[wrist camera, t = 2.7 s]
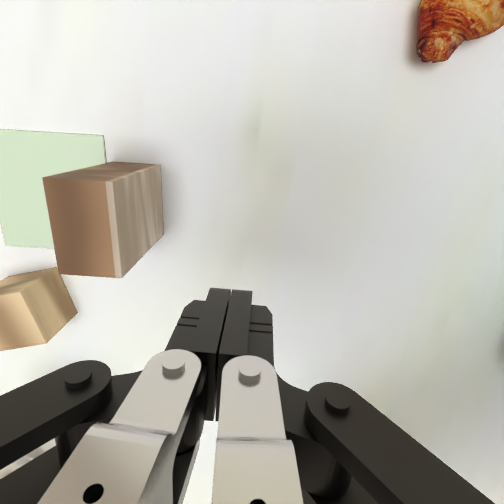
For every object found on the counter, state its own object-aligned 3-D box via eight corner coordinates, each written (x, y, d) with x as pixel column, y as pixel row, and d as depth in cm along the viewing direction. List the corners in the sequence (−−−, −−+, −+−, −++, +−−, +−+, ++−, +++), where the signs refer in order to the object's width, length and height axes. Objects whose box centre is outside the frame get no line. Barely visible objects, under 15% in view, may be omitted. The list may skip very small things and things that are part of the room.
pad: (103, 135, 26) (102, 135, 26) (115, 252, 30) (114, 252, 29) (-20, 128, 26) (-22, 128, 26) (7, 244, 30) (5, 245, 29)
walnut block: (160, 164, 27) (112, 181, 18) (163, 234, 29) (121, 278, 20) (112, 161, 27) (42, 177, 18) (118, 231, 29) (59, 273, 20)
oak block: (57, 266, 30) (19, 292, 26) (78, 312, 32) (46, 343, 27) (9, 275, 31) (-36, 302, 26) (32, 319, 33) (-7, 351, 28)
